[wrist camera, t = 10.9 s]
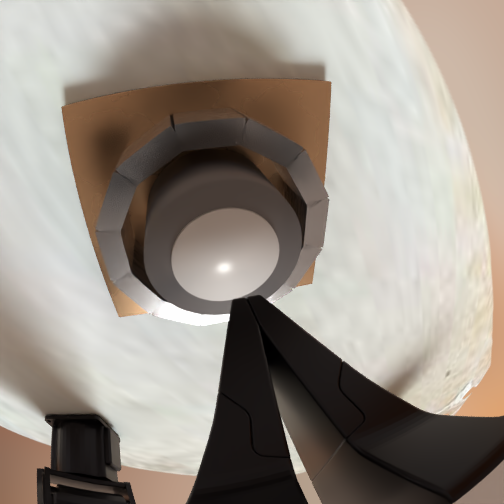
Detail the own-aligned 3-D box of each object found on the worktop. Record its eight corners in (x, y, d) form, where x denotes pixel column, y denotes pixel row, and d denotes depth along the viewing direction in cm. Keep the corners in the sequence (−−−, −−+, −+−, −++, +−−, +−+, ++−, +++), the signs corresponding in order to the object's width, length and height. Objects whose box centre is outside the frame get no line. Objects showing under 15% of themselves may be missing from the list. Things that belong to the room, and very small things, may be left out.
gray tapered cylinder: (158, 269, 16) (161, 328, 12) (137, 158, 12) (127, 196, 9) (269, 251, 17) (297, 303, 14) (271, 143, 13) (310, 173, 10)
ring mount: (119, 310, 17) (117, 354, 14) (65, 105, 10) (37, 117, 8) (308, 277, 20) (331, 313, 17) (325, 80, 13) (365, 88, 10)
